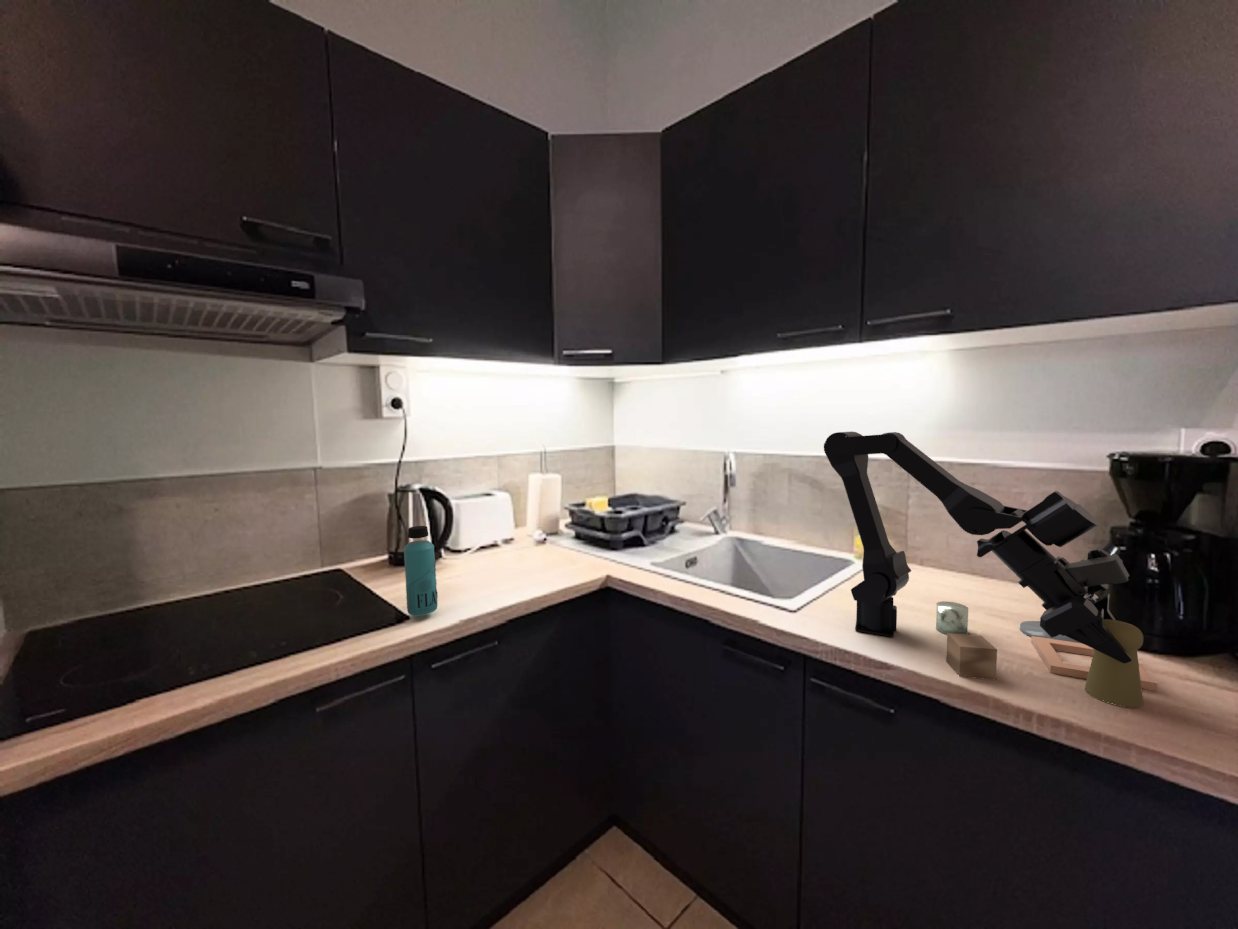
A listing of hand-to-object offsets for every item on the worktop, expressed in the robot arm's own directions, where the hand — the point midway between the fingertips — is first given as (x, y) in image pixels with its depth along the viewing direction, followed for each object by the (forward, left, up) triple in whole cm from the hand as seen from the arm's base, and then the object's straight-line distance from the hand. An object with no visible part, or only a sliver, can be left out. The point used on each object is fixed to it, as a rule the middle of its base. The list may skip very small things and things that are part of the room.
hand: (1129, 655), depth 69 cm
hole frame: (-1, +11, -7) cm, 13 cm away
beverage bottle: (-119, -24, -7) cm, 122 cm away
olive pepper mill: (-1, 0, -7) cm, 7 cm away
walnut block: (-18, 0, -7) cm, 19 cm away
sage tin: (-19, +16, -7) cm, 26 cm away
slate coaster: (-3, +22, -7) cm, 24 cm away
